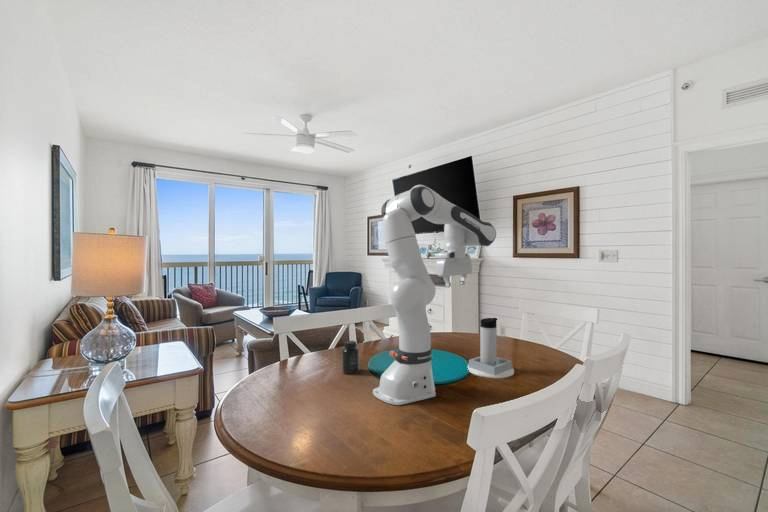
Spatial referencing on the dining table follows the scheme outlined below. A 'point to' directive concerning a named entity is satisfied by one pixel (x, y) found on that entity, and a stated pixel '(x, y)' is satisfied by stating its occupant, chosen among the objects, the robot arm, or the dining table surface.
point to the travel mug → (488, 341)
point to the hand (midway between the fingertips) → (455, 285)
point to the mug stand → (491, 368)
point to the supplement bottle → (350, 358)
